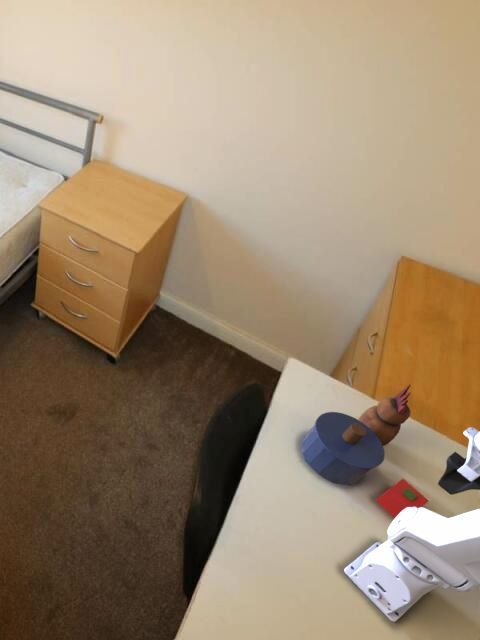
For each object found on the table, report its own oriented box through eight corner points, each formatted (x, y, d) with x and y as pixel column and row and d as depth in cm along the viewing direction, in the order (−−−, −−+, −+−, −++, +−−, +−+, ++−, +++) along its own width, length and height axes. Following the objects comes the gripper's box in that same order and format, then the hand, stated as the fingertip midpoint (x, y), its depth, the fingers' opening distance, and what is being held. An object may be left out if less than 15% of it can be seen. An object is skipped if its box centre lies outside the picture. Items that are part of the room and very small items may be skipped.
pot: (339, 494, 92) (358, 477, 88) (289, 447, 99) (304, 428, 95) (372, 469, 96) (392, 451, 92) (322, 425, 103) (338, 407, 99)
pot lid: (357, 481, 88) (371, 469, 85) (299, 429, 95) (310, 416, 92) (394, 454, 92) (408, 441, 89) (336, 406, 99) (348, 393, 97)
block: (400, 523, 89) (416, 511, 86) (375, 500, 92) (389, 488, 89) (414, 511, 90) (430, 499, 87) (389, 489, 93) (404, 477, 90)
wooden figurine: (355, 417, 104) (398, 372, 95) (387, 437, 101) (435, 392, 92) (344, 437, 101) (387, 392, 91) (376, 458, 98) (425, 414, 88)
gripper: (510, 395, 82) (454, 440, 91) (462, 432, 76) (408, 476, 85) (564, 431, 77) (500, 474, 86) (517, 473, 72) (454, 515, 81)
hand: (457, 478), depth 85 cm, fingers open, 7 cm apart
